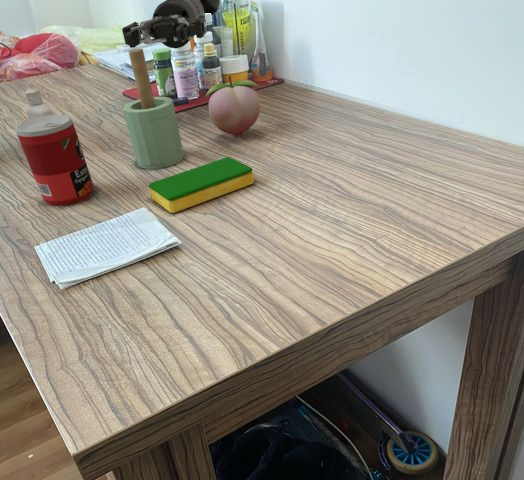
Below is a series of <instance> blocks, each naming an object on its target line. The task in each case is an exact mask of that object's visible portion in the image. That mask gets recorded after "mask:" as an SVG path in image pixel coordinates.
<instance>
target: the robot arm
mask: <svg viewBox="0 0 524 480" xmlns="http://www.w3.org/2000/svg"><path fill="white" fill-rule="evenodd" d="M220 7H221V0H164V1H163V2H161V3H159V4H158V5H157V6H156V8H155V10H154V12H153V14H152V18H150V19H147V20H143V21H141V22H137V21H133V22H132V23H130V24H128V25H126V26H124V27H122V28H121V31H122V37H123V40H124V44H125V46H129V48H130V49H136V47H138V46H139V45H141V44H145V45H153V44H156V43H161V44H162V45H164V46H165V47H167V48H170V49H181V48H183V47H184V46H186V45H187V44H189V42H190V41H192V40H193V39H194V38H195V36H196V39H202V38H204V37H205V35H206V34H207V33H208V27H207V23H206V20H205V13H211V14H212V15H214V16H215V15H216V13H217V12H218V11H219V10H220Z"/></svg>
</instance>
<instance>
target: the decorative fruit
mask: <svg viewBox="0 0 524 480" xmlns="http://www.w3.org/2000/svg"><path fill="white" fill-rule="evenodd" d="M228 81H229V82H226V83H218V84H214V85H213V86H212V87H211V88H209V89H208V90H207V92H206V93H205V95H204V98H207V97H208V96H209V100H208V113H209V117H210V120H211V122H212V123H213V125H214V127H216V128H217V129H218V130H220V131H221V132H223V133H225V134H228V135H231V136H234V137H240V136H242V135H243V134H245V133H246V132H247V131H249V129H251V128H252V127H253V126H254V124H255V123H256V122H257V120H258V118H259V117H260V113H261V101H260V97H259V95H258V93H257V91H256V90H255V88H253V87H256V88H260V86H259V85H258V83H256V82H254V81H252V80H250V79H246V78H245V79H238V80H235V81H232V77H231V75H228Z"/></svg>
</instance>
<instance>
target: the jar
mask: <svg viewBox="0 0 524 480" xmlns="http://www.w3.org/2000/svg"><path fill="white" fill-rule="evenodd" d="M154 101H155V105H156V107H154V108H150V109H142V106H141V102H140V98H139V99H136V100H134V101H130V102H128V103H126V104H125V105H124V106H122V112H123V115H124V119H125V123H126V127H127V131H128V135H129V139H130V142H131V145H132V149H133V153H134V154H133V155H134V157H135V161H136V164H137V166H138V167H139V168H141V169H146V170H158V169H163V168H168V167H171V166H173V165H177V164H179V163H180V162H182V160H183V159H184V156H185V155H184V148H183V144H182V138H181V133H180V130H179V124H178V120H177V114H176V109H175V104H174V100H173V98H171V97H167V96H154Z"/></svg>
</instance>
